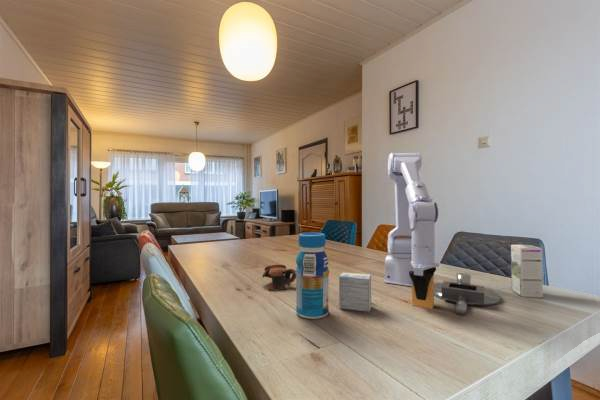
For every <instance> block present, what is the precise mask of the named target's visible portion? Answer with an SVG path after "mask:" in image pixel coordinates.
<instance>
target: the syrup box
mask: <svg viewBox="0 0 600 400" xmlns="http://www.w3.org/2000/svg"><path fill="white" fill-rule="evenodd" d="M510 257H511V261H510V263H511V264H510V265H511V266H510V267H511V268H510V269H511V271H510V273H511V291H512V292H513V293H515V294H517V295H519V296H520V297H524V298H537V299H538V298H540V299H542V298H544V291H543V290H544V289H543V288H544V286H543V284H544V283H543V282H544V281H543V247H538V246H535V245H531V244H511V245H510Z"/></svg>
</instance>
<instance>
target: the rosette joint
mask: <svg viewBox="0 0 600 400" xmlns="http://www.w3.org/2000/svg"><path fill="white" fill-rule="evenodd" d="M434 297H436V298H438V299H439V300H440V299H441V300H443V301H445V302H450V303H453V304H455V308H454V310H455V311H454V312H456V314H457V315H459V316H465V315H466V314H467V310H468V309H467V308H468V306H471V307H490V306H496V305H499V304H500V303H501V296H500V294H499V293H497V291H494V290H492V289H489V288H487V287H485V286H484V285H479V284H478V285H477V284H471V274H469V273H463V272H457V273H456V282H454V281H446V280H443V282H438V283H434Z"/></svg>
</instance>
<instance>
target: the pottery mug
mask: <svg viewBox="0 0 600 400" xmlns="http://www.w3.org/2000/svg"><path fill="white" fill-rule="evenodd" d="M295 271H296V269H295V270H294V268H289V269H287V266H286V265H285V264H272V265H268V266H265V268H264V272H263V274H262V278H264V277H265V278H270V279H271V281H270V282H268V283H267V284H266V286H267V290H268V291H273V290H286V286H287V287H288V286H290V285H291V283H294V282H295V281H296V273H295Z"/></svg>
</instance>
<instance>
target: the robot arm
mask: <svg viewBox="0 0 600 400" xmlns="http://www.w3.org/2000/svg"><path fill="white" fill-rule="evenodd" d="M422 160H423V159H422V156H421V154H420V152H418V151H417V152H405V153H404V152H401V153H399V152H398V153H397V152H396V153H395V152H390V154H388V159H387V175H388V179H390V180H392V181H393V184H394V201H395V202H394V204H395V210H394V211H395V227H394V228H393V229H391V230H390V231H389V232H388V234H387V242H386V243H387V246H386V247H387V253H388V254H389V255H386V257H385V261H384V283H386V284H394V285H400V286H406V287H412V282H413V285H414V288H415V293H416V297H417V299H419V300H426V297H427V292H428V286H429V282H430V280H431V278H432V276H434V274H435V272H436V271H437V268H439V267H440V263H439V262H436V261H435V260H436V259H435V258H436V256H435V249H436V248H435V233H436V231H435V230H436V229H435V223H437V221H438V218H439V208H438V203H437V201H436V200H434V198H431V197H430V195H429V191H428V188H427V186H426V184H425V183H424V182H422V181H421V179H420V174H419V172H420V170H421V168H422Z"/></svg>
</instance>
